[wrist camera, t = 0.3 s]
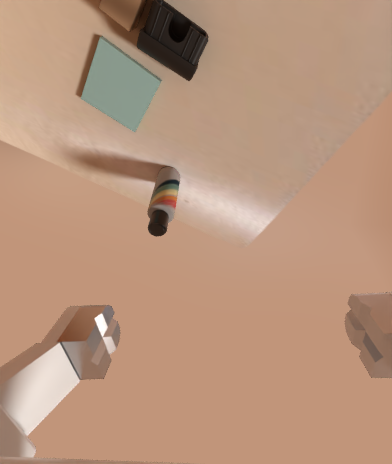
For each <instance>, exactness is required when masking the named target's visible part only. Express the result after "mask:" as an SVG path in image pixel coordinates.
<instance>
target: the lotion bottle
mask: <svg viewBox="0 0 392 464" xmlns="http://www.w3.org/2000/svg"><path fill="white" fill-rule="evenodd" d="M179 183H180V174H179V172H178V171H177V170H176V169H174V168H172V167H164V168H162V169H161V170H160V171H159V173H158V176H157V180H156V183H155V187H154V190H153V194H152V197H151V201H150V204H149V208H148V216H149V218H150V222H149V225H148V230H149V232H150V233H151V234H152V235H154V236H162V235H164V234H165V233H166V231H167V226H168V223H169V222H171V221H172V219H173V217H174V213H175V207H176V201H177V195H178V189H179Z"/></svg>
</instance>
